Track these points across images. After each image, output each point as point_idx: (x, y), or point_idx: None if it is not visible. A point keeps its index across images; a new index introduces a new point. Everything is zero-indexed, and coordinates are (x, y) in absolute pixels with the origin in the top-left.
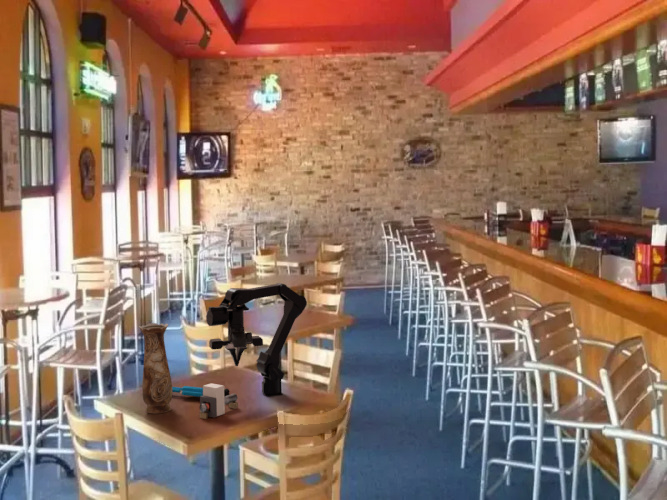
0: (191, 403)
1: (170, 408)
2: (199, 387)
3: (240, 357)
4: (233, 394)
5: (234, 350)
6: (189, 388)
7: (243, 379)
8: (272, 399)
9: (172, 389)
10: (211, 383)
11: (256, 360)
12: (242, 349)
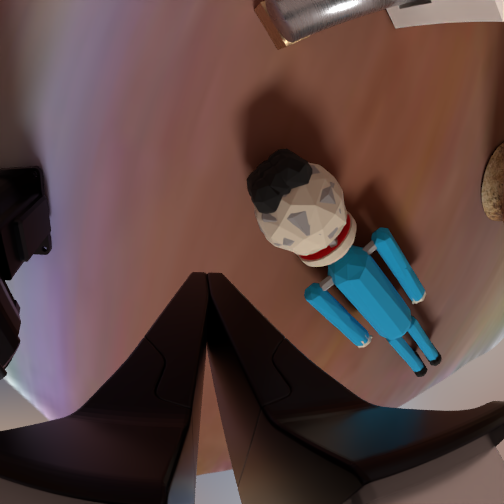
0: (411, 206)
1: (494, 160)
2: (373, 297)
3: (148, 335)
4: (299, 2)
5: (361, 437)
6: (400, 308)
7: None
8: (26, 108)
9: (424, 333)
10: (502, 14)
11: (3, 377)
12: (63, 455)
